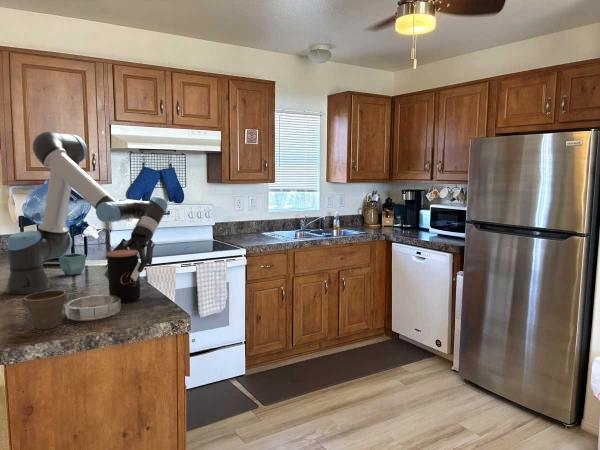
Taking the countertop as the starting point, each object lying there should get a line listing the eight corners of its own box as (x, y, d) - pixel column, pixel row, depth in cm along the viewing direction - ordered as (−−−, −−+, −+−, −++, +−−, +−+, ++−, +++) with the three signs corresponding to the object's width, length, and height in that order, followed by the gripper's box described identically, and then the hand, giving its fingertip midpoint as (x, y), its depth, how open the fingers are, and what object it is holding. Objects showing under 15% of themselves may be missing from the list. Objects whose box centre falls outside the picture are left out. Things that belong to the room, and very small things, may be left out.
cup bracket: (55, 318, 150) (54, 306, 150) (93, 304, 165) (92, 293, 165) (95, 322, 145) (94, 310, 144) (130, 308, 160) (130, 297, 159)
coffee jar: (122, 305, 163) (119, 255, 161) (103, 301, 169) (100, 253, 167) (146, 298, 172) (144, 250, 170) (128, 294, 178) (125, 248, 176)
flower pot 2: (87, 273, 218) (86, 254, 217) (69, 277, 211) (68, 257, 210) (76, 271, 223) (75, 253, 222) (59, 275, 216) (57, 256, 215)
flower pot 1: (23, 335, 134) (20, 301, 133) (27, 324, 144) (25, 292, 143) (68, 329, 139) (65, 296, 138) (68, 318, 149) (66, 288, 148)
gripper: (175, 237, 179) (151, 285, 166) (124, 235, 187) (98, 281, 174) (166, 225, 173) (141, 274, 161) (114, 223, 181) (86, 270, 169)
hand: (119, 278), depth 167 cm, fingers open, 12 cm apart
